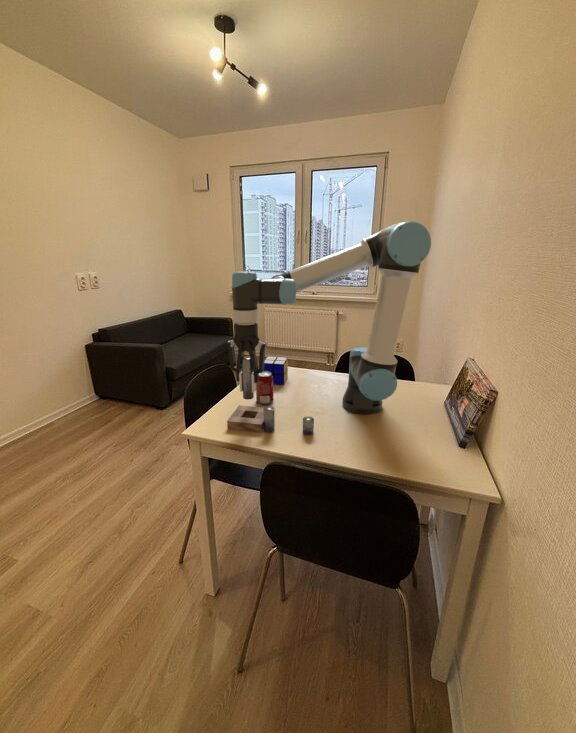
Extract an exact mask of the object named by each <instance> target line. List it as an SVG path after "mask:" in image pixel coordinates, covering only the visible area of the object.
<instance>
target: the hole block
mask: <svg viewBox="0 0 576 733" xmlns="http://www.w3.org/2000/svg"><path fill="white" fill-rule="evenodd" d="M263 408H264V407H261V406H251V405H249V406H248V405H242V404H241V405H240V404H239V405H238V406H237V407H236V409H235V410H234V411H232V414H231V415H230V416H229V417H228V419H227V421H226V423H227V424H226V427H227V428H226V429H228V430H235V431H242V432H243V431H244V432H253V433H254V432H255V433H263V432H264V415H263Z"/></svg>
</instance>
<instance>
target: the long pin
mask: <svg viewBox="0 0 576 733" xmlns="http://www.w3.org/2000/svg"><path fill="white" fill-rule="evenodd" d="M241 371H242V383H243V391H242V396H243V397H242V398H243V399H244V400H252V399H254V398H255V397H254V393H255V392H254V393H252V378H251V374H252V373H253V368H252V363H251V358H250V356H243V358H242V370H241Z"/></svg>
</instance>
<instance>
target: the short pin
mask: <svg viewBox="0 0 576 733" xmlns="http://www.w3.org/2000/svg"><path fill="white" fill-rule="evenodd" d="M314 427H315V418H314V417H312V416H304V417H303V418H302V434H303V435H304V436H312V435H313V434H314Z"/></svg>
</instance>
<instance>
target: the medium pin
mask: <svg viewBox="0 0 576 733" xmlns="http://www.w3.org/2000/svg"><path fill="white" fill-rule="evenodd" d="M263 415H264V429H263V432H265V433H268V434H272V433H274V432H275V429H276V428H275V426H276V425H275V406H272V405H267V406H265V407H263Z"/></svg>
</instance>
